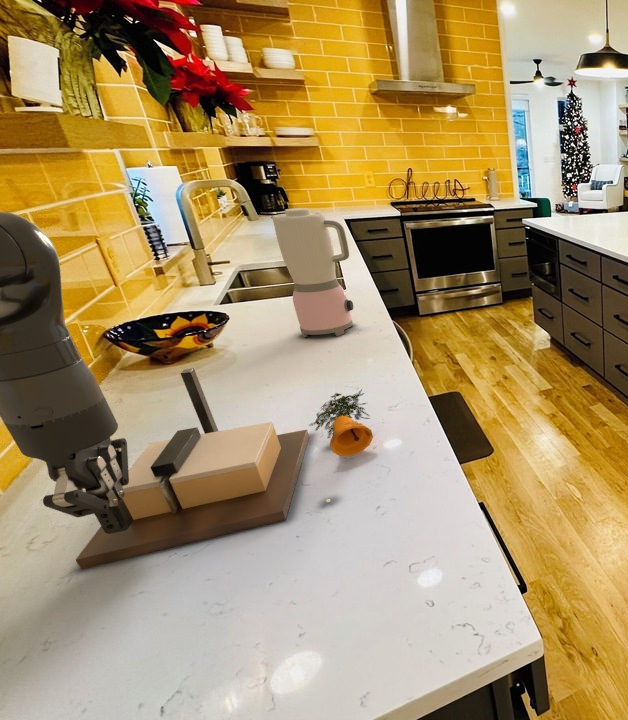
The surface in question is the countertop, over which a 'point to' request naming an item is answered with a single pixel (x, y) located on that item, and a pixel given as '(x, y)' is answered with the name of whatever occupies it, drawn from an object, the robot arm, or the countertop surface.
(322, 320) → the blender
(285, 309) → the countertop surface
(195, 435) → the knife
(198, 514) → the board
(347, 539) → the countertop surface
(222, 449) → the tan rounded box
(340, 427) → the christmas decoration
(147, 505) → the slice
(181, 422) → the countertop surface
